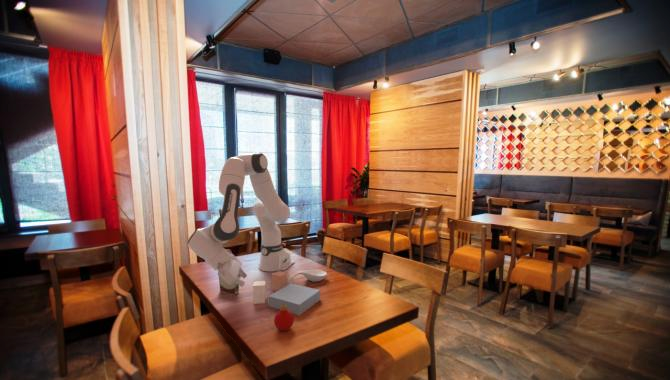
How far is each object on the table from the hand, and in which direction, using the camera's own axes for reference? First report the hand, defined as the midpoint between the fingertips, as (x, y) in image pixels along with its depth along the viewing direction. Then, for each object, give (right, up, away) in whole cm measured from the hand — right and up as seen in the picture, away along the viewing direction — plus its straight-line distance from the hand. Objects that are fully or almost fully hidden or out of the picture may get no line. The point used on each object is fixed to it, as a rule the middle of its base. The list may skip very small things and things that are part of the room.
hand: (244, 280), depth 130 cm
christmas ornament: (+21, -12, -21) cm, 32 cm away
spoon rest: (+25, -8, +24) cm, 35 cm away
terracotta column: (+13, -9, +14) cm, 21 cm away
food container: (-9, -9, +12) cm, 17 cm away
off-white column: (+6, -10, +2) cm, 11 cm away
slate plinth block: (+22, -10, 0) cm, 24 cm away
